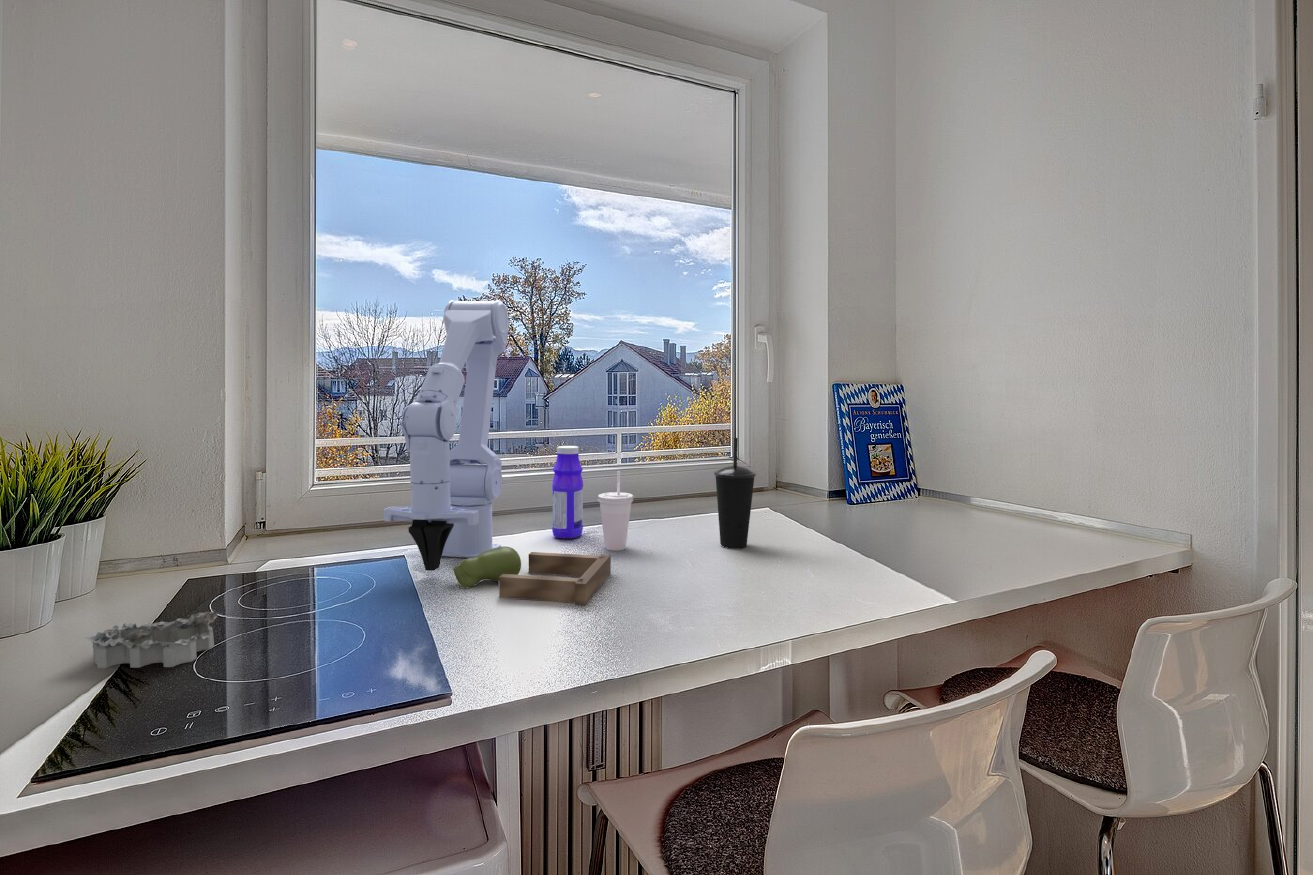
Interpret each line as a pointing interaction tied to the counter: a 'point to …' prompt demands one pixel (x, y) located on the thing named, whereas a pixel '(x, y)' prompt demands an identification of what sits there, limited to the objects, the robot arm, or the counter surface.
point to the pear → (488, 566)
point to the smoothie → (615, 517)
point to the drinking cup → (734, 502)
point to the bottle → (567, 494)
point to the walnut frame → (558, 578)
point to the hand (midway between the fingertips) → (432, 568)
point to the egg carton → (154, 642)
